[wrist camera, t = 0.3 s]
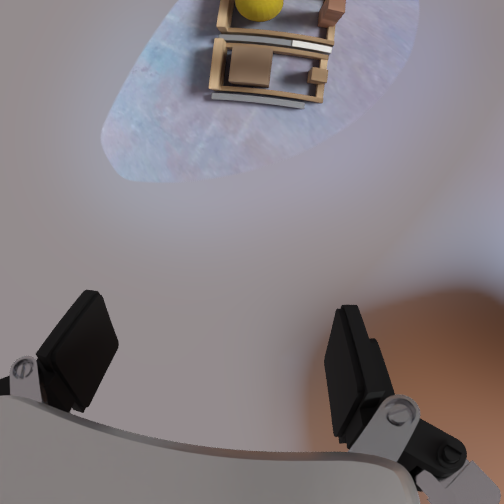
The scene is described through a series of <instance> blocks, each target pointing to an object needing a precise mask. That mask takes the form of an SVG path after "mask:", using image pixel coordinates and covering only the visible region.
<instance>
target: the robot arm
mask: <svg viewBox="0 0 504 504" xmlns="http://www.w3.org/2000/svg"><path fill="white" fill-rule="evenodd" d="M118 345H119V344H118V339H117V336H116V334H115V331H114V328H113V326H112V323H111V320H110V317H109V314H108V312H107V308H106V306H105V303H104V299H103V297H102V295H100V294H99V292H98V291H93V290H85V291H84V292H83V293H82V294H81V295H80V297H79V298H78V299H77V300H76V301H75V303H74V304H73V305H72V306H71V308H70V309H69V310H68V311H67V313H66V314H65V315H64V316H63V318H62V319H61V320H60V322H59V323H58V324H57V325H56V327H55V328H54V329H53V331H52V332H51V334H50V335H49V336H48V338H47V339H46V340H45V342H44V343H43V344H42V346H41V347H40V349H39V350H38V351H37V353H36V355H37V357H38V359H37V360H35V359H34V358H33V357H31V356H24V357H21V358H19V359H17V360H16V361H15V362H14V363H13V365H12V366H11V369H10V376H8V377H5V378H3V379H0V504H420V500H419V496H418V492H417V491H423V492H424V493H425V494H426V495H427V496H428V497H429V498H428V499H427V500H428V501H429V502H430V503H431V504H499V502H500V497H501V494H500V490H499V488H498V487H497V486H496V485H495V484H494V482H493V481H492V480H491V479H490V478H489V477H488V476H487V475H486V474H485V473H484V472H483V471H482V470H481V469H480V468H479V467H478V466H477V465H476V464H475V463H474V462H473V461H471V462H469V461H468V460H467V459H466V457H467V452H466V448H465V446H464V445H463V443H462V442H460V441H459V440H458V439H456V438H454V437H453V436H451V435H449V434H447V433H445V432H443V431H442V430H440V429H438V428H436V427H434V426H433V425H431V424H429V423H427V422H426V421H424V420H422V419H420V409H419V407H418V405H417V403H416V402H415V401H414V400H413V399H411V398H409V397H407V396H405V395H395V393H394V390H393V387H392V384H391V380H390V377H389V374H388V371H387V368H386V365H385V362H384V359H383V356H382V353H381V350H380V348H379V345H378V342H377V341H376V339H374V338H373V339H369V337H368V334H367V331H366V328H365V325H364V322H363V319H362V317H361V314H360V311H359V309H358V306H357V305H342V306H341V309H337V310H336V313H335V317H334V321H333V325H332V330H331V334H330V338H329V342H328V346H327V350H326V354H325V360H324V366H325V372H326V379H327V386H328V394H329V401H330V409H331V417H332V425H333V433H334V436H335V437H339V443H347V448H348V449H349V451H348V452H266V451H246V450H233V449H222V448H213V447H205V446H198V445H191V444H185V443H178V442H173V441H168V440H163V439H158V438H153V437H148V436H144V435H140V434H136V433H132V432H128V431H124V430H120V429H116V428H113V427H110V426H106V425H103V424H99V423H96V422H93V421H90V420H87V419H84V418H81V417H78V416H76V415H73V414H71V413H70V410H71V408H73V410H76V411H79V412H82V413H83V412H84V410H85V408H86V407H88V406H89V405H90V403H91V401H92V399H93V397H94V395H95V393H96V391H97V389H98V387H99V385H100V383H101V381H102V379H103V376H104V375H105V373H106V370H107V369H108V367H109V365H110V363H111V361H112V359H113V357H114V355H115V353H116V351H117V349H118Z"/></svg>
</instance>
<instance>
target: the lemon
mask: <svg viewBox="0 0 504 504" xmlns="http://www.w3.org/2000/svg"><path fill="white" fill-rule="evenodd" d="M235 4H236V8H237V9H238V11H239V13H240V14H241V15H242V16H244V17H245V18H247V19H249V20H252V21H257V22H264V21H268V20H270V19H272V18H274V17H276V16H277V15H278V14H279V12H280V11H281V9H282V6H283V0H235Z"/></svg>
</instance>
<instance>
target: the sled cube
mask: <svg viewBox="0 0 504 504" xmlns="http://www.w3.org/2000/svg"><path fill="white" fill-rule="evenodd" d="M233 46H247V47H259V48H269V49H273V53H277V54H284V55H291V56H298V57H304V58H310V59H315V60H320V62H319V68H316V67H312V68H311V69H310V70H309V71H308V79H307V83H312V84H317V86H316V94H315V97H313V96H307V95H302V94H295V93H289V92H282V91H274V90H266V89H257V88H246V87H234V86H223V84H224V75H225V67H226V58H227V50H228V49H230V50H232V48H233ZM328 57H329V55H324V54H319V53H314V52H309V51H303V50H297V49H290V48H283V47H275V46H266V45H255V44H242V43H226V41H225V40H224V39H223V38H215V40H214V47H213V55H212V63H211V72H210V81H209V89H212V90H215V91H230V92H243V93H253V94H263V95H271V96H279V97H286V98H293V99H299V100H305V101H311V102H317V103H323V93H324V85H325V83H327V76H328V70H326V69H327V61H328Z"/></svg>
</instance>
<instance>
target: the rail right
mask: <svg viewBox="0 0 504 504" xmlns="http://www.w3.org/2000/svg"><path fill="white" fill-rule="evenodd" d="M211 99H217V100H232V101H244V102H254V103H263V104H272V105H279V106H286V107H293V108H299V109H304V106H305V103H303V102H297V101H290V100H283V99H276V98H268V97H259V96H249V95H238V94H223V93H212V98H211Z"/></svg>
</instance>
